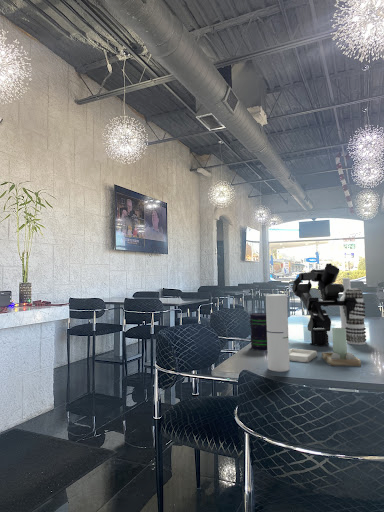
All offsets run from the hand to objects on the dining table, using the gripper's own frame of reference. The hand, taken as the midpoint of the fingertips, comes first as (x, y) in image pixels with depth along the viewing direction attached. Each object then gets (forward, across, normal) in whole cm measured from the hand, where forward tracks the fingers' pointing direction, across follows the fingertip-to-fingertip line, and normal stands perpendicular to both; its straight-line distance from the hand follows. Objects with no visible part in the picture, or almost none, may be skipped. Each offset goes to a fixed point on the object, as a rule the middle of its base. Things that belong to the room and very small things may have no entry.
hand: (336, 320), depth 137 cm
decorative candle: (-9, +16, +28) cm, 34 cm away
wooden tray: (+17, -2, +2) cm, 17 cm away
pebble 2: (+19, 0, 0) cm, 19 cm away
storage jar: (0, -28, +20) cm, 34 cm away
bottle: (-19, +18, +38) cm, 46 cm away
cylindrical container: (+25, -26, -5) cm, 36 cm away
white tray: (+13, -16, +7) cm, 21 cm away
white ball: (+19, -5, 0) cm, 19 cm away
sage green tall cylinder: (+16, -2, +2) cm, 17 cm away
